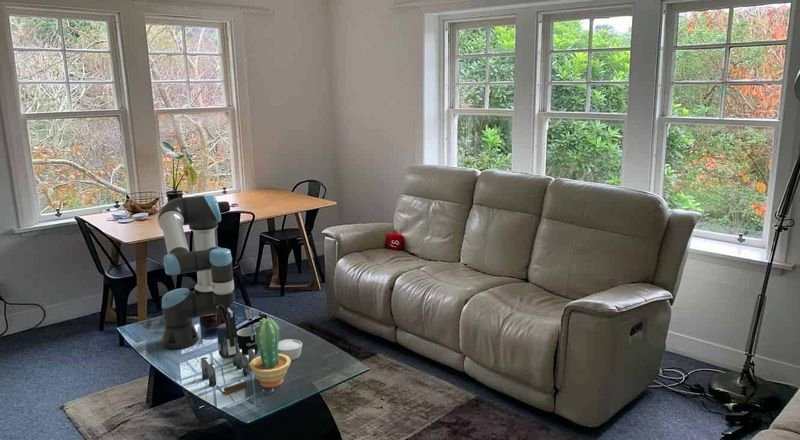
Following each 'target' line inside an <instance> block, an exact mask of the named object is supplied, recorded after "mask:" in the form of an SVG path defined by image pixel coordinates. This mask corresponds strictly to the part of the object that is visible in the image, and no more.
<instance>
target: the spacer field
mask: <svg viewBox="0 0 800 440" xmlns="http://www.w3.org/2000/svg"><path fill="white" fill-rule="evenodd" d="M254 358H256V355H255V349H253V348H251V349H248V354H244V355H242V349H241V348H239V347H238V353H237V355H236V356H235V357H233V358H232V365H234V366H233V367H236V368H237V369H236V368H235V369H236V370H238V369H240V370H242V376H243V375H244V376H243V377H248V376H247V375H249V376H250V375H251V372H250V371H252V370H251V368H250V365H249V364H250V362H251V361H252V360H253V359H254ZM200 364H201V365H200V366H201V374H202V375H201V376H202V380H208V383H209V384H208V385H209V387H215V386H217V375H216V365H215V363H209V358H208V357H207V356H205V357H204V356H203V357H201V358H200ZM242 368H243V369H242Z"/></svg>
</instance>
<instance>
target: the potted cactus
mask: <svg viewBox="0 0 800 440" xmlns="http://www.w3.org/2000/svg"><path fill="white" fill-rule="evenodd" d="M249 334H250V337H251V339H252V340H253V338H252V337H253V334H254V335H255V342H256V344H257V346H258V352H259V356H255V358H254V359H253V360H252V361H251V362H250V364H249V365H250V368H251V370H250V371H251V372H252V373H254V375H255V377H256V379H257V380H258V381H259V382H260V383H259V385H260V386H261V385H262V387H264V388H274V387H278V386H279V385H282V384H283V383H284V377H285V375H286V374H287V372H288V369H289V368H290V365H291V363H292V360H290V358H289V356H286V355H283V354H278V343H279V341H280V327H279V326H278V324H277V323H276V322H275V321H274V320H273V319H272V318H270V317H266V318H265V317H262V319H260V320H259V321H258V322H254V323H253V324H252V326H251V330H250V333H249Z"/></svg>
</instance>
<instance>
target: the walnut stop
mask: <svg viewBox="0 0 800 440" xmlns="http://www.w3.org/2000/svg"><path fill="white" fill-rule="evenodd" d="M248 386H249V385H248V382H247V381H246V380H245V381H243V382H238V383H234V384H232V385H229V386H225V387H223V392H224V394H223V395H225V396H228V395H231V394H235V393H237V392H240V391H244V390H247V389H248Z"/></svg>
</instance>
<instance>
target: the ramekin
mask: <svg viewBox="0 0 800 440" xmlns="http://www.w3.org/2000/svg"><path fill="white" fill-rule="evenodd" d="M302 348H303V342H302V341H301V340H299V339H294V338H292V339H291V338H288V339H287V338H286V339H282V340H279V343H278V354H283V355H286V356H289V358H290V360H291V361H294V360H296V359H298V358H300V356H301V353H302Z"/></svg>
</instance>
